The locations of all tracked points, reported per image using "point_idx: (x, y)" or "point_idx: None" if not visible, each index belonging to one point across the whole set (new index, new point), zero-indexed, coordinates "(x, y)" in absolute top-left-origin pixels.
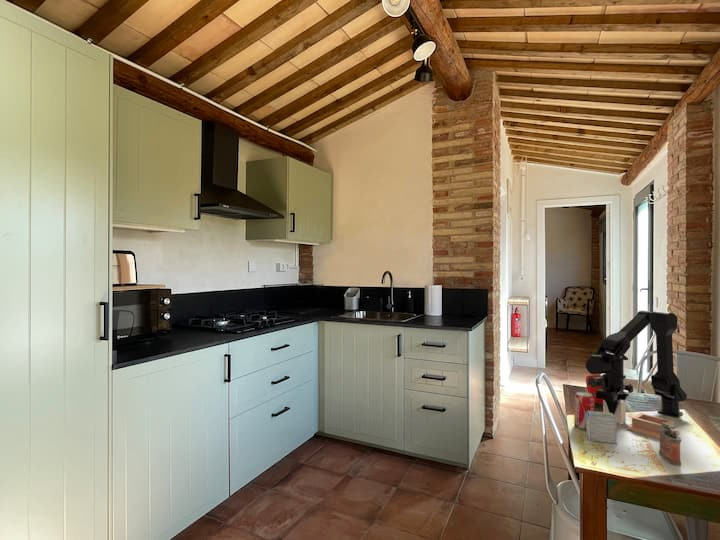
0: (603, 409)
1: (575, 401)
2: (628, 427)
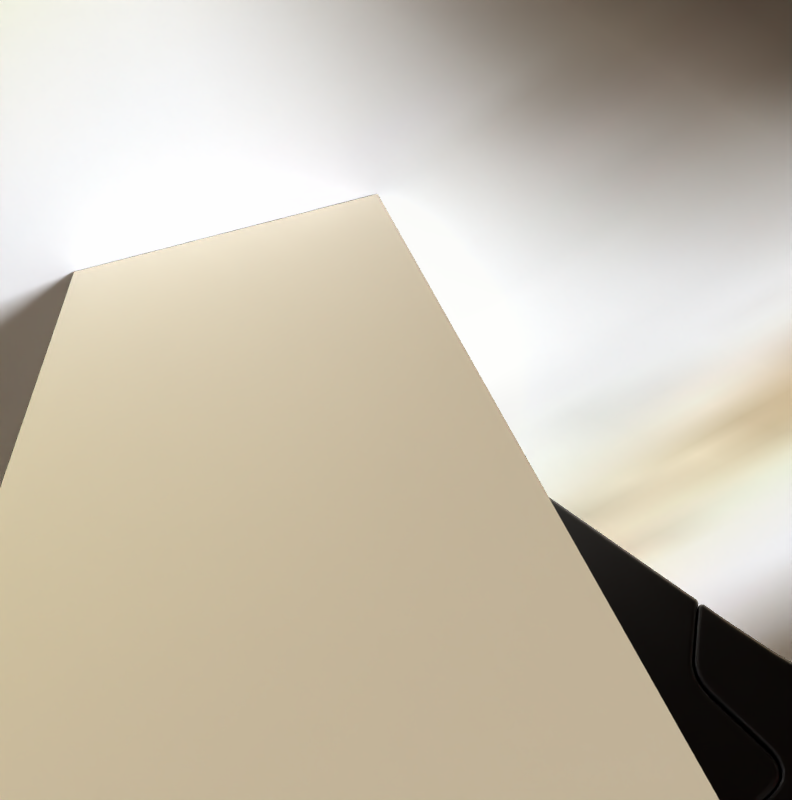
0: (14, 464)
1: None
2: None
